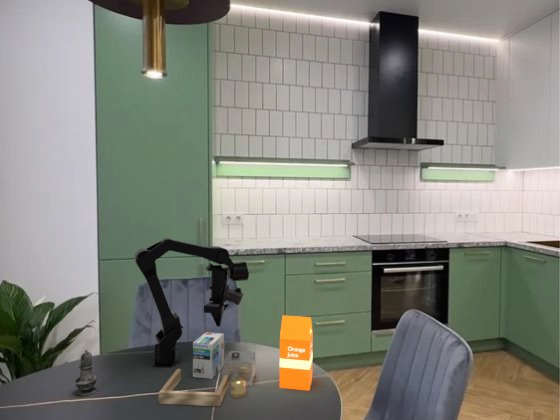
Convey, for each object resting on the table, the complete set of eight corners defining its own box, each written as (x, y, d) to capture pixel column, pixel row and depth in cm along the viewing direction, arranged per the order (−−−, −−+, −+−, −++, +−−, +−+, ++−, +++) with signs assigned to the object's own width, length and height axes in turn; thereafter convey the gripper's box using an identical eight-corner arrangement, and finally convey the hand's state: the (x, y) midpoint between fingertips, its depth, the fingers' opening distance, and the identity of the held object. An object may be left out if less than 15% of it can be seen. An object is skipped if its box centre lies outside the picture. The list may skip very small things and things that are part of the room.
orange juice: (284, 376, 118) (284, 311, 118) (312, 378, 116) (313, 313, 116) (279, 387, 111) (279, 319, 110) (309, 391, 109) (309, 321, 109)
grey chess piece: (102, 388, 109) (102, 347, 109) (85, 398, 104) (86, 354, 104) (86, 385, 111) (86, 344, 111) (69, 395, 106) (69, 351, 105)
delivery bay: (158, 403, 101) (158, 392, 101) (177, 378, 116) (177, 368, 116) (219, 406, 100) (219, 394, 100) (230, 380, 115) (230, 370, 115)
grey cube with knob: (224, 385, 112) (224, 358, 112) (229, 373, 120) (230, 348, 120) (252, 386, 111) (252, 359, 111) (256, 374, 119) (256, 349, 119)
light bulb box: (212, 379, 115) (212, 344, 115) (191, 377, 117) (192, 342, 117) (224, 365, 126) (224, 332, 126) (205, 363, 127) (205, 331, 127)
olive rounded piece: (229, 397, 105) (230, 383, 105) (232, 390, 109) (232, 376, 109) (244, 398, 104) (244, 383, 104) (246, 391, 108) (246, 377, 108)
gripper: (236, 288, 125) (236, 336, 125) (245, 278, 144) (245, 319, 144) (203, 287, 126) (203, 334, 126) (216, 277, 144) (216, 318, 145)
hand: (218, 326), depth 135 cm, fingers closed
